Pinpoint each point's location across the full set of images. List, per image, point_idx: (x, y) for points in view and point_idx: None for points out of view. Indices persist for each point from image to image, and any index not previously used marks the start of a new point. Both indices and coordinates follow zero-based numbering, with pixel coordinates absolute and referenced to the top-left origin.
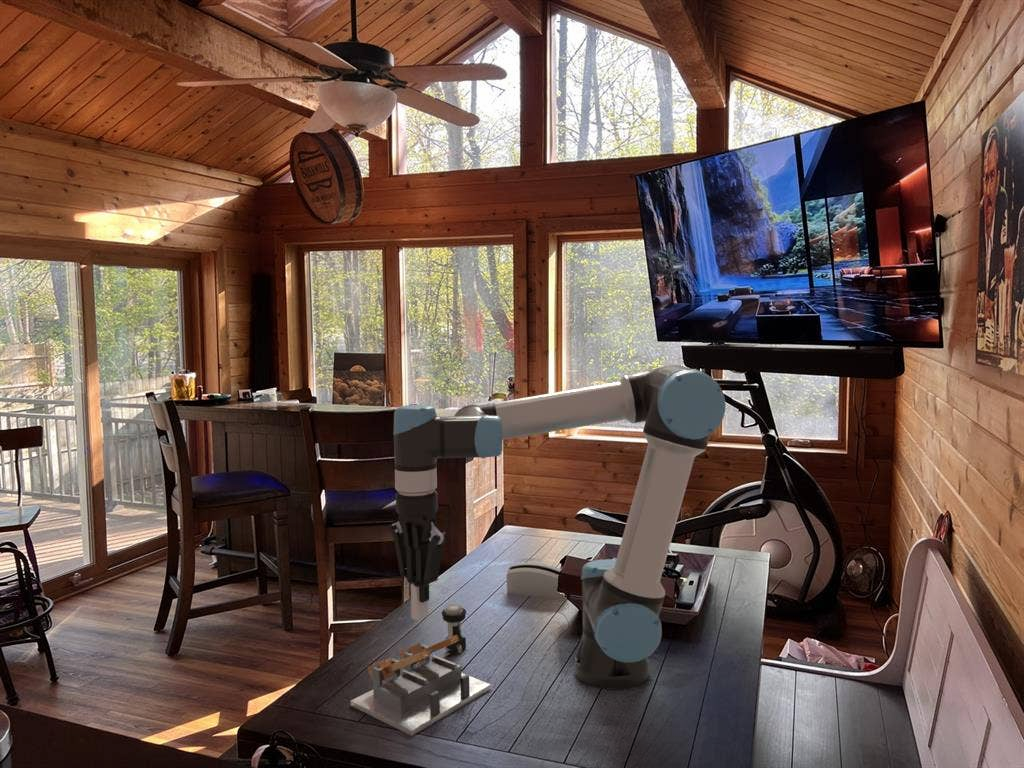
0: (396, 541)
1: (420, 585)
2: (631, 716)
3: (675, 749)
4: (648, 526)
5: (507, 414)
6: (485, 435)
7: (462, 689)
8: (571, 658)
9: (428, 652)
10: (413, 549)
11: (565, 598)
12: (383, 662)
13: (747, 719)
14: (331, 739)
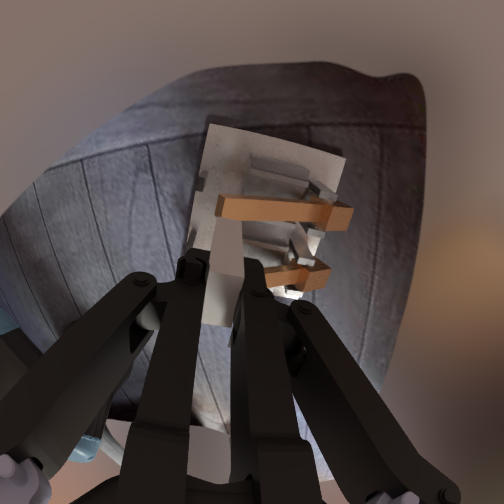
0: (390, 441)
1: (182, 272)
2: (34, 283)
3: None
4: None
5: None
6: None
7: (191, 237)
8: (147, 363)
9: (266, 268)
10: (242, 430)
11: (229, 439)
12: (327, 214)
13: None
14: (313, 73)
